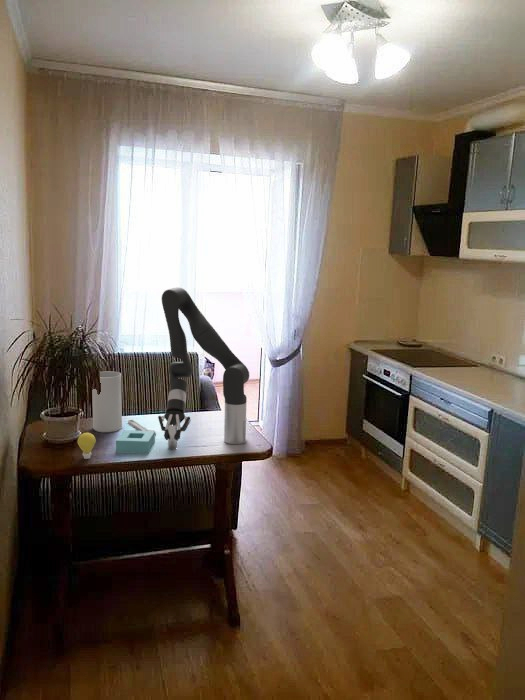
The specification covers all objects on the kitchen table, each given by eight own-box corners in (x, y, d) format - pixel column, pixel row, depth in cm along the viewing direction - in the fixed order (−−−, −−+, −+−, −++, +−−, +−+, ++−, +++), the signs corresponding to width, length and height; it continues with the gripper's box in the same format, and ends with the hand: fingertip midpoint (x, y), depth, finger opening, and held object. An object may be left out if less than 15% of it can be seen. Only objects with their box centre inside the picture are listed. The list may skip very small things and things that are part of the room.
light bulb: (96, 460, 216) (95, 435, 214) (77, 461, 214) (76, 436, 212) (96, 454, 222) (95, 429, 220) (78, 455, 220) (77, 430, 218)
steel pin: (177, 446, 232) (177, 423, 231) (176, 450, 229) (176, 426, 227) (169, 446, 232) (168, 423, 231) (167, 449, 229) (167, 426, 227)
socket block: (154, 442, 237) (154, 431, 236) (148, 453, 224) (148, 441, 223) (124, 441, 237) (123, 430, 236) (116, 452, 224) (115, 440, 223)
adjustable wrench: (127, 423, 263) (127, 419, 263) (140, 421, 266) (140, 418, 266) (144, 439, 242) (144, 435, 241) (158, 437, 245) (158, 433, 245)
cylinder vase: (122, 423, 261) (121, 371, 256) (122, 432, 249) (121, 377, 244) (93, 425, 258) (92, 371, 253) (92, 433, 246) (91, 378, 241)
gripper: (158, 397, 235) (153, 435, 225) (192, 398, 235) (188, 435, 225) (160, 406, 241) (155, 443, 231) (193, 407, 241) (190, 444, 231)
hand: (171, 439), depth 228 cm, fingers closed on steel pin, 3 cm apart
